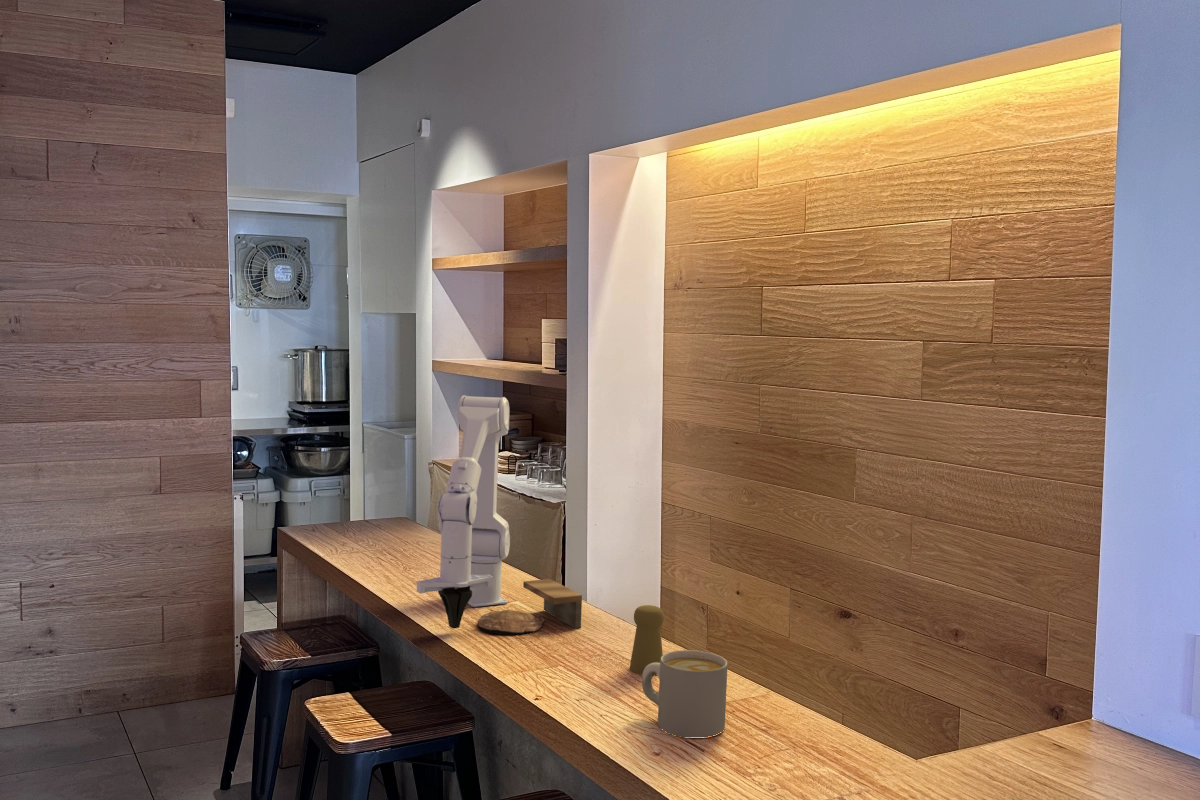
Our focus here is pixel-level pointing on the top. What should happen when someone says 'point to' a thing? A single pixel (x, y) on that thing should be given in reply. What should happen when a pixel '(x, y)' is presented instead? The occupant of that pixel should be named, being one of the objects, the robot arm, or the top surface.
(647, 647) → the olive pepper mill
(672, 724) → the coffee mug
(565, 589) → the walnut shelf
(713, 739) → the top surface
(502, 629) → the shell
